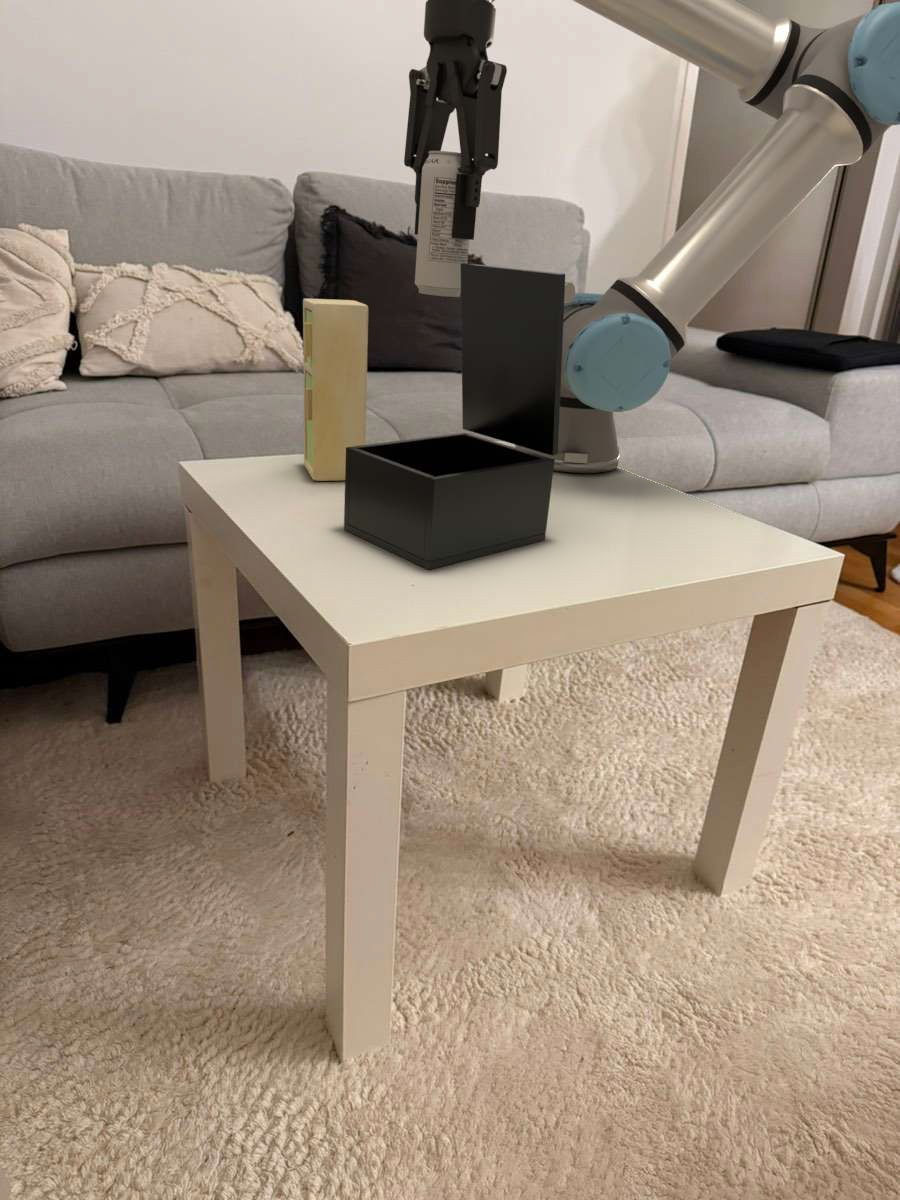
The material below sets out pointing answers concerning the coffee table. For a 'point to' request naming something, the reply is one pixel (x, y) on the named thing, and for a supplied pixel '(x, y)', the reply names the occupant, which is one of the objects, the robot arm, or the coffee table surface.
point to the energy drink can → (439, 228)
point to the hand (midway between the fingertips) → (443, 236)
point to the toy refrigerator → (333, 383)
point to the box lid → (513, 353)
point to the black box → (446, 497)
